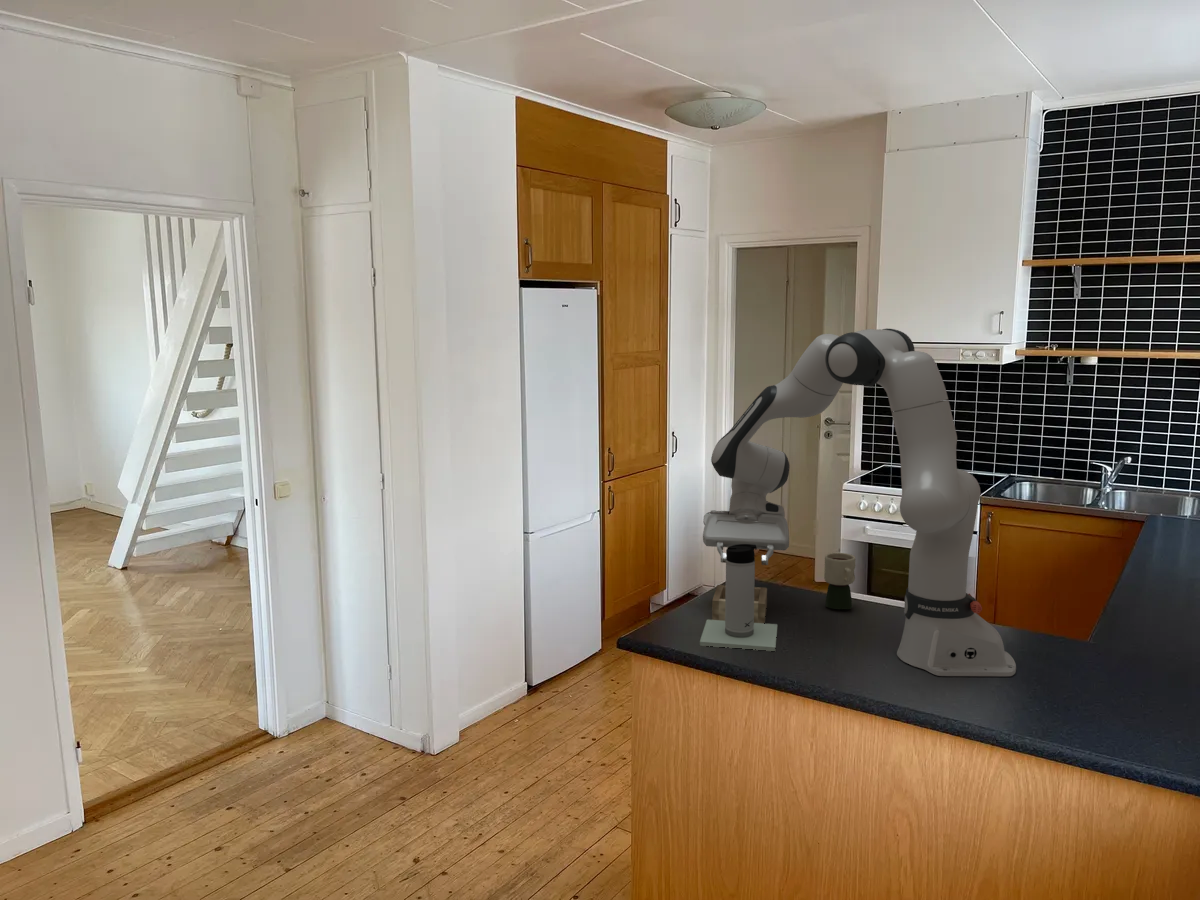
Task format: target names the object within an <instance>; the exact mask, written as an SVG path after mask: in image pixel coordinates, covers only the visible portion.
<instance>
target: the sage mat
mask: <svg viewBox="0 0 1200 900" xmlns="http://www.w3.org/2000/svg"><path fill="white" fill-rule="evenodd" d="M777 635H778V624H777V623H765V624H764V623H754V633H753V634H752V635H751V636H748V637H733V636H730V635H728V634H727V633H726V632H725V621H721V620H712V619H706V621H705V624H704V628H703V631H702V633H701V637H700V640H699V647H706V646H709V648H711V647H710V646H713V647H712V648H719V647H725V648H724V649H732V648H742V649H741V650H745V649H753V650H752V651H758V650H766V651H765V652H771V651H775V652H776V649H775V648H777V638H776V637H778V636H777ZM727 647H729V648H727ZM755 649H756V650H755Z"/></svg>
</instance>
